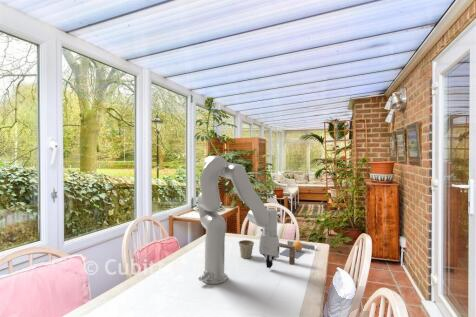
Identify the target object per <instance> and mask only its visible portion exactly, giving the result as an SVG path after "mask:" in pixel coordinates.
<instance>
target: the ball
mask: <svg viewBox="0 0 476 317" xmlns="http://www.w3.org/2000/svg"><path fill="white" fill-rule="evenodd" d="M293 242H294V244H293V246H295V251H300V252H301V250H303V248H302V247H303V246H302V244H301V243H302V242H301V241H297V240H296V241H293Z"/></svg>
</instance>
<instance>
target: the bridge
mask: <svg viewBox="0 0 476 317" xmlns="http://www.w3.org/2000/svg"><path fill="white" fill-rule="evenodd" d="M279 248H283V249H289V259H288V260H289V262H288V264H289V265H295V262H296V258H295V246H292V245H287V243H282V242H279ZM269 256H270V255H269Z"/></svg>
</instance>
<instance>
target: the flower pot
mask: <svg viewBox="0 0 476 317" xmlns="http://www.w3.org/2000/svg"><path fill="white" fill-rule="evenodd" d="M254 244H255V242H254V241H252V240H249V239H248V240H247V239H242V240H239V241H238V245H239V251H240V258H242V259H245V260H247V259H251V258H252V254H253V249H254V248H253V247H254Z"/></svg>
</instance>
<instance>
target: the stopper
mask: <svg viewBox="0 0 476 317" xmlns="http://www.w3.org/2000/svg"><path fill="white" fill-rule="evenodd" d="M294 242H295V241H294V240H293V241H292V240H287V243H286V244H287V245H292V246H293V244H294ZM301 244H302V246H303V247H302V249H305V250H310V249H311V251H315V248H316V247H315V246H316V245H313V244H307V243H303V242H301Z"/></svg>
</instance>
